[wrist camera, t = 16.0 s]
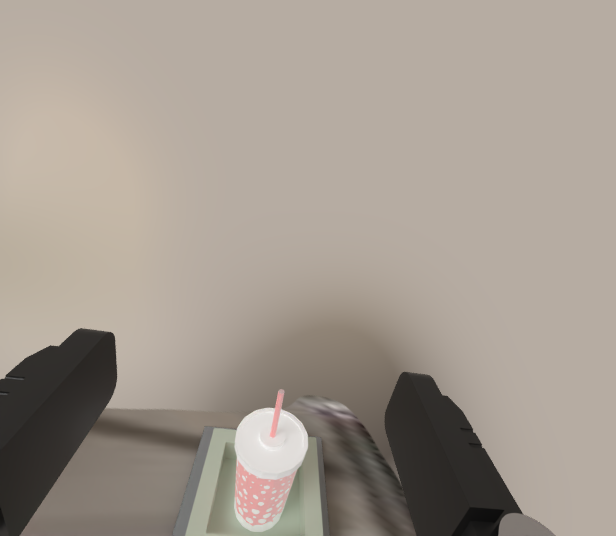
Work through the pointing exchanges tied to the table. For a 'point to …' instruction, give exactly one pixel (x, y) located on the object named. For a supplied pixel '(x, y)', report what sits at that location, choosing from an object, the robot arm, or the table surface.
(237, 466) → the beverage cup
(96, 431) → the table surface
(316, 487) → the pale green square tray
